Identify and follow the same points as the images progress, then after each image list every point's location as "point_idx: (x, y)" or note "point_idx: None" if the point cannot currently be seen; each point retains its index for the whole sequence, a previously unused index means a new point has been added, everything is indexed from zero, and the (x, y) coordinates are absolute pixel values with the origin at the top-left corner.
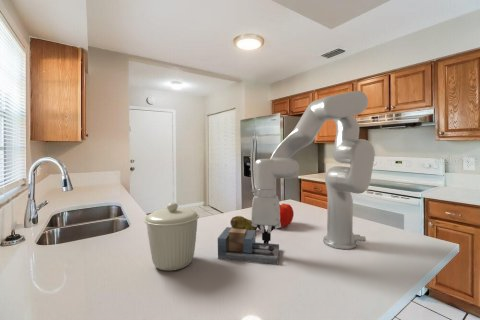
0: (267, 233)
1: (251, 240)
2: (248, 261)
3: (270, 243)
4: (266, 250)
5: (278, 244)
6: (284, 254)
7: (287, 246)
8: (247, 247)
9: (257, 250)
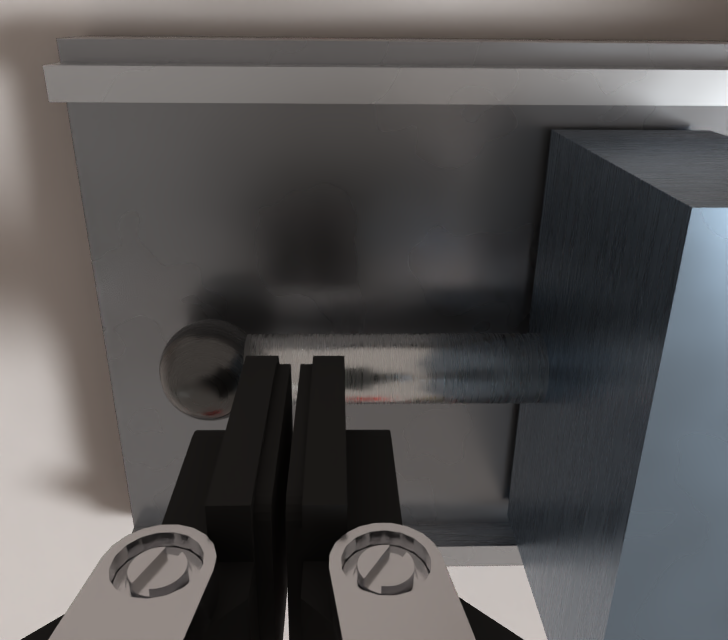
0: (219, 506)
1: (676, 199)
2: (581, 40)
3: None
4: None
5: None
6: (49, 395)
7: None
8: (694, 156)
9: None
